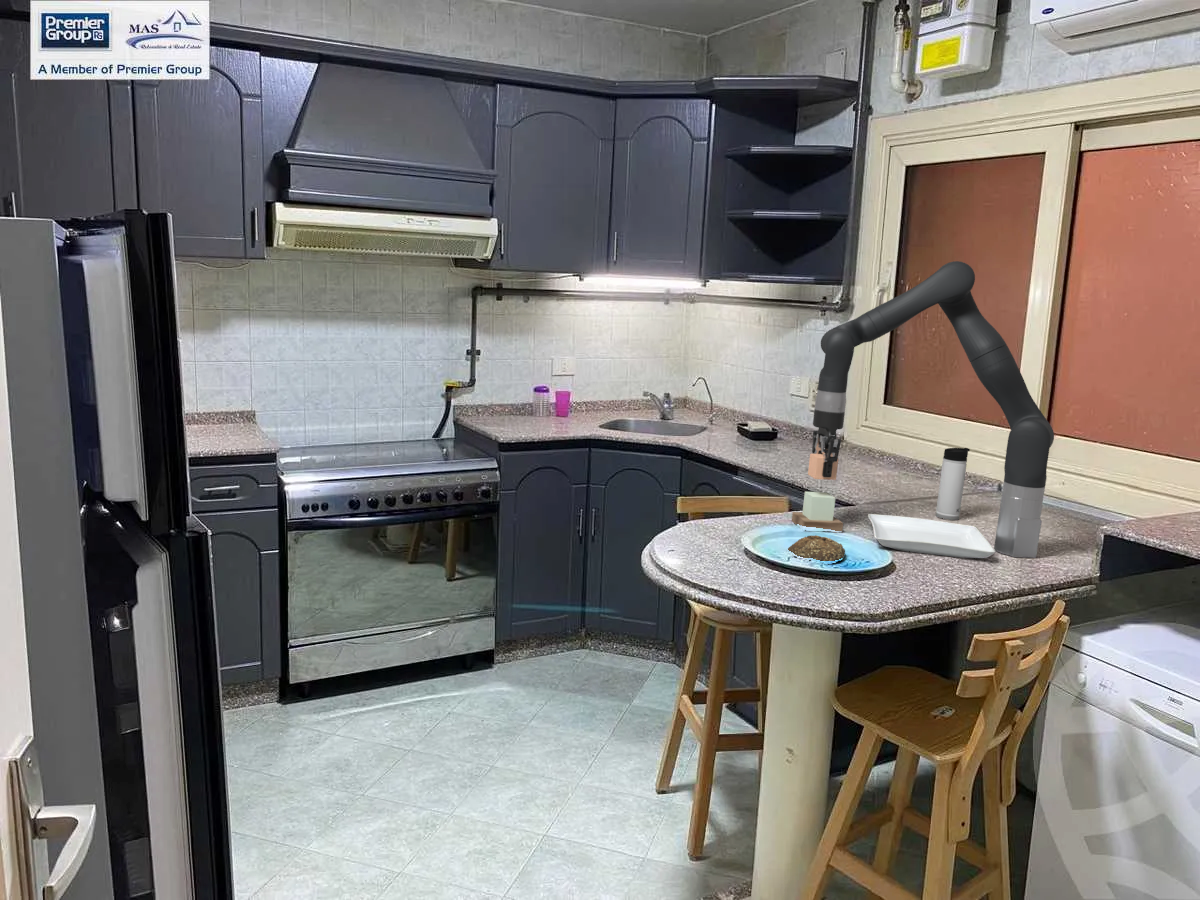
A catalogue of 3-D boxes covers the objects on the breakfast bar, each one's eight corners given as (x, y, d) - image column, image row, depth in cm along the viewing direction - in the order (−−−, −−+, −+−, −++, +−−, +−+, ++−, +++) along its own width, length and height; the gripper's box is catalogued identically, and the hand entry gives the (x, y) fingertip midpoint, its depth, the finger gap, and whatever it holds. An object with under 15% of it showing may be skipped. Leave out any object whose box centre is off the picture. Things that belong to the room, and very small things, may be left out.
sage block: (832, 520, 239) (835, 497, 238) (810, 519, 238) (812, 496, 237) (824, 514, 245) (827, 492, 244) (802, 514, 244) (804, 491, 243)
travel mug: (963, 521, 260) (973, 450, 256) (939, 519, 260) (949, 448, 256) (955, 515, 266) (965, 446, 262) (932, 514, 266) (941, 444, 263)
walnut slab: (842, 532, 237) (843, 523, 237) (804, 531, 236) (805, 521, 236) (828, 522, 247) (829, 513, 247) (791, 521, 246) (792, 511, 246)
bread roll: (850, 556, 217) (853, 536, 216) (835, 568, 206) (837, 546, 205) (797, 545, 223) (799, 525, 222) (779, 556, 213) (781, 535, 212)
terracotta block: (835, 480, 237) (838, 458, 236) (815, 479, 236) (817, 457, 236) (828, 475, 243) (830, 454, 242) (807, 474, 242) (810, 453, 241)
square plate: (994, 566, 217) (997, 550, 217) (873, 552, 223) (875, 536, 222) (974, 537, 243) (976, 523, 243) (865, 525, 249) (867, 511, 248)
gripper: (854, 413, 230) (846, 481, 233) (833, 405, 244) (826, 469, 247) (825, 412, 229) (817, 479, 232) (806, 404, 243) (799, 468, 246)
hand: (822, 474), depth 239 cm, fingers closed on terracotta block, 5 cm apart
